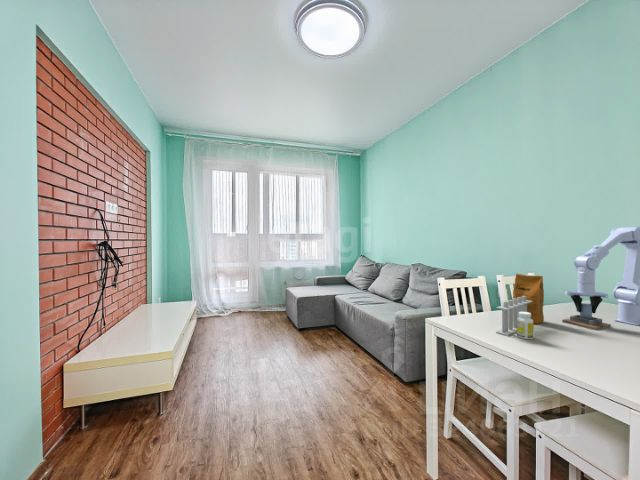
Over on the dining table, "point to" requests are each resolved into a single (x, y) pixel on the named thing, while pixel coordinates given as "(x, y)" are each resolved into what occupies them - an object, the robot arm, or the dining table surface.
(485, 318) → the dining table surface
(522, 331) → the supplement bottle
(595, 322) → the holder
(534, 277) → the coffee package
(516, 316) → the test tube rack
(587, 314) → the tube
